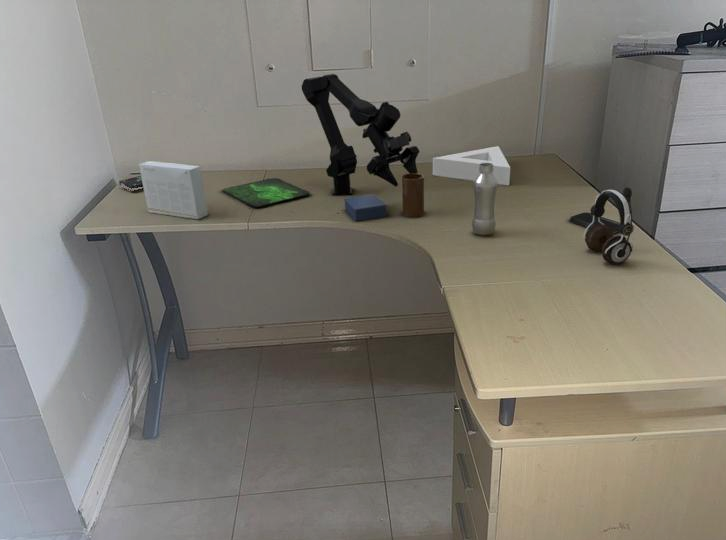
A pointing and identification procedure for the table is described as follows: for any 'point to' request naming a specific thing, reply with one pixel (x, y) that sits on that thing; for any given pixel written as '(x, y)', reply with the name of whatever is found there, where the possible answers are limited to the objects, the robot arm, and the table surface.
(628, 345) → the table surface
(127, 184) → the disk drive
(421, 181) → the brown wooden cylinder
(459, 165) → the triangle block
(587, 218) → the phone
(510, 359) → the table surface
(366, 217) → the box
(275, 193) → the mouse mat
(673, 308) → the table surface
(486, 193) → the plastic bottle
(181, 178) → the skincare box
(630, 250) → the headset
